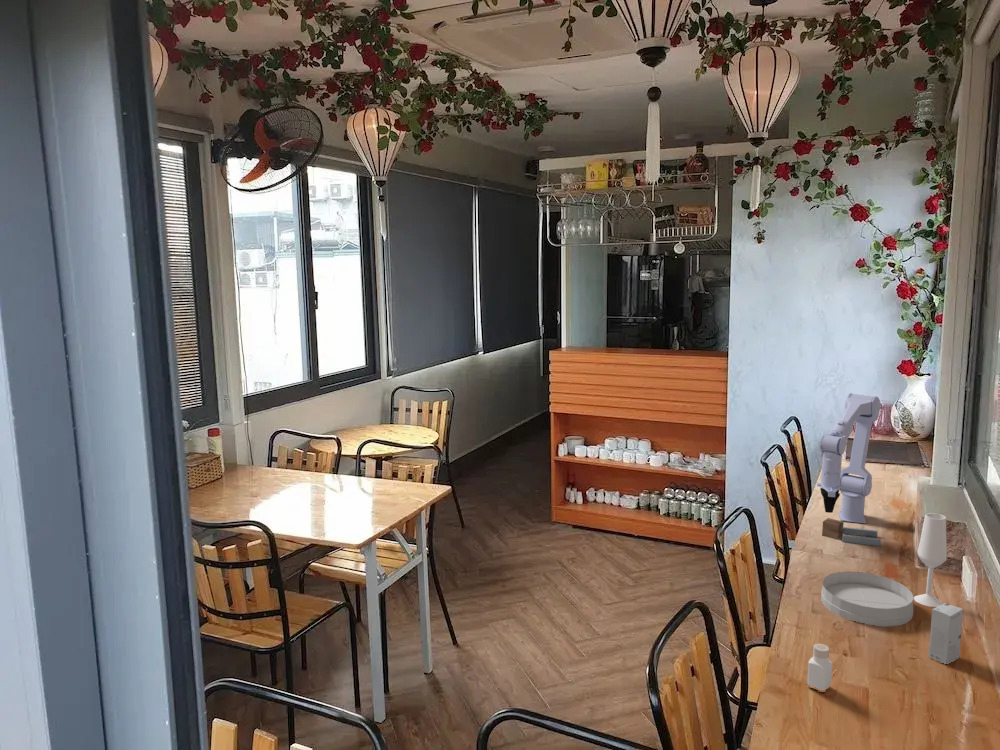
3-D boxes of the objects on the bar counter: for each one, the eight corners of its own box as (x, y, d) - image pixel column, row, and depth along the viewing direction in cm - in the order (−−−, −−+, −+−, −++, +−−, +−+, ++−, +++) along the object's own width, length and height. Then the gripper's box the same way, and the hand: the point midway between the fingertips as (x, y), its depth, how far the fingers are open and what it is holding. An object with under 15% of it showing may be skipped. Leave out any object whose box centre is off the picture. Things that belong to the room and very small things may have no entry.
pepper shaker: (805, 687, 161) (808, 647, 159) (813, 679, 164) (816, 640, 162) (824, 695, 158) (827, 654, 156) (831, 687, 161) (834, 647, 159)
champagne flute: (945, 608, 195) (953, 522, 191) (916, 604, 197) (923, 519, 193) (939, 597, 201) (946, 513, 197) (911, 593, 203) (918, 510, 199)
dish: (901, 592, 205) (902, 575, 204) (923, 632, 184) (925, 613, 183) (815, 584, 210) (816, 567, 210) (827, 621, 189) (828, 603, 189)
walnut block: (827, 532, 247) (828, 518, 247) (842, 536, 244) (843, 521, 243) (822, 535, 244) (822, 521, 244) (837, 539, 241) (838, 525, 240)
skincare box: (947, 666, 168) (951, 616, 166) (926, 657, 172) (931, 608, 170) (960, 657, 172) (965, 609, 170) (940, 649, 175) (944, 601, 173)
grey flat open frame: (840, 532, 247) (840, 526, 246) (876, 536, 243) (877, 530, 243) (842, 541, 239) (842, 535, 239) (880, 545, 235) (880, 540, 235)
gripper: (816, 464, 249) (814, 502, 251) (819, 476, 235) (816, 517, 238) (839, 466, 246) (836, 505, 249) (843, 479, 233) (840, 519, 235)
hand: (828, 511), depth 243 cm, fingers closed
